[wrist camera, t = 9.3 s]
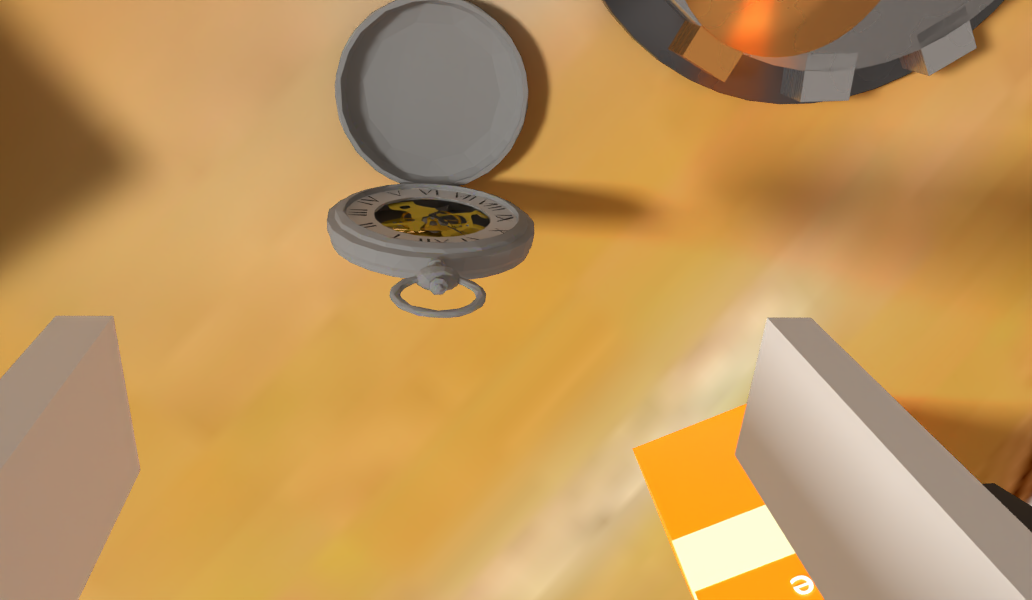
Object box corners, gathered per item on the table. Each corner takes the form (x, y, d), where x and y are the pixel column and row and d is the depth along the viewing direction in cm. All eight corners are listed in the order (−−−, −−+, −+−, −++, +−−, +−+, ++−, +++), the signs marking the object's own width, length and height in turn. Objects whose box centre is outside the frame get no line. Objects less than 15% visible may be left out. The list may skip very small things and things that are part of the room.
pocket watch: (466, -47, 26) (500, -29, 17) (576, 165, 29) (651, 272, 20) (260, 78, 26) (188, 159, 18) (393, 268, 30) (388, 415, 21)
